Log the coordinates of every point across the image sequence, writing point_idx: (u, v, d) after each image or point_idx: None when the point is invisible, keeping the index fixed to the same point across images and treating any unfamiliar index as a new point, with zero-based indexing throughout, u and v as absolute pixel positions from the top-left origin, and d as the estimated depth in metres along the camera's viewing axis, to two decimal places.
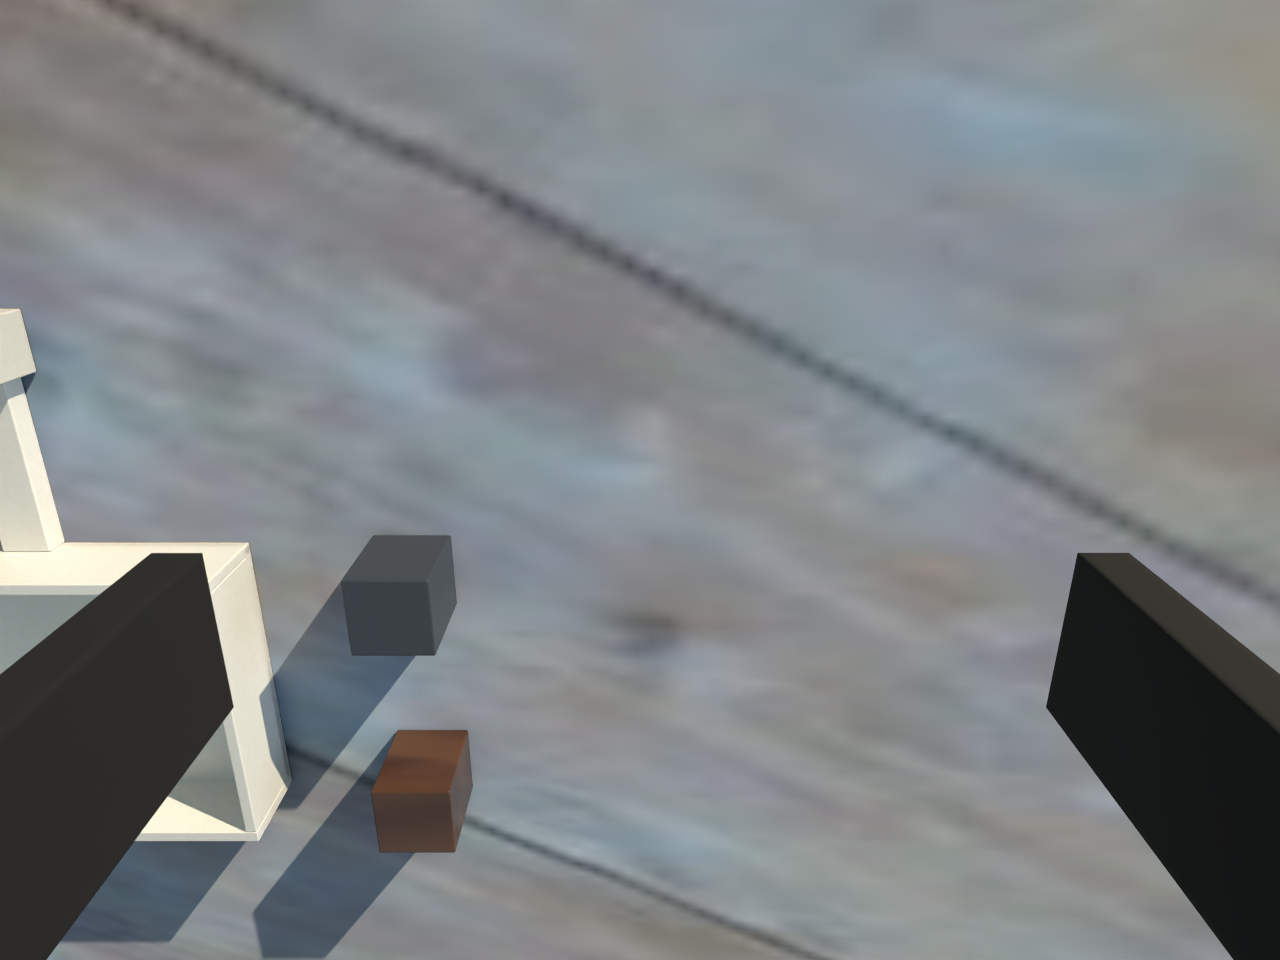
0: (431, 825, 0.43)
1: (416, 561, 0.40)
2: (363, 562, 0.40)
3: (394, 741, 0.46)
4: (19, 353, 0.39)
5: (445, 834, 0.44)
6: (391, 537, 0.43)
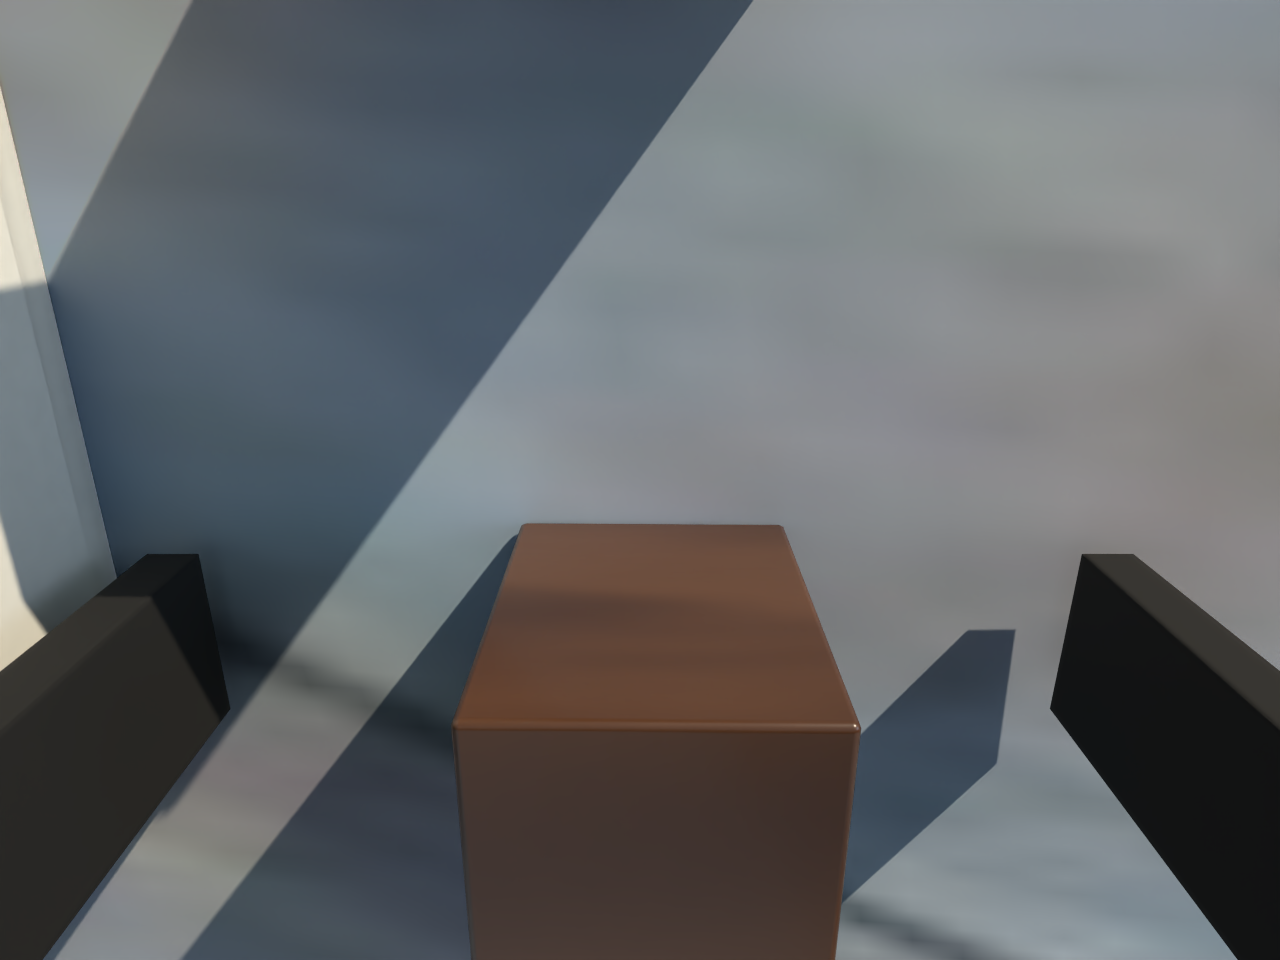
0: (741, 897, 0.09)
1: None
2: None
3: (520, 549, 0.12)
4: None
5: (801, 941, 0.09)
6: None
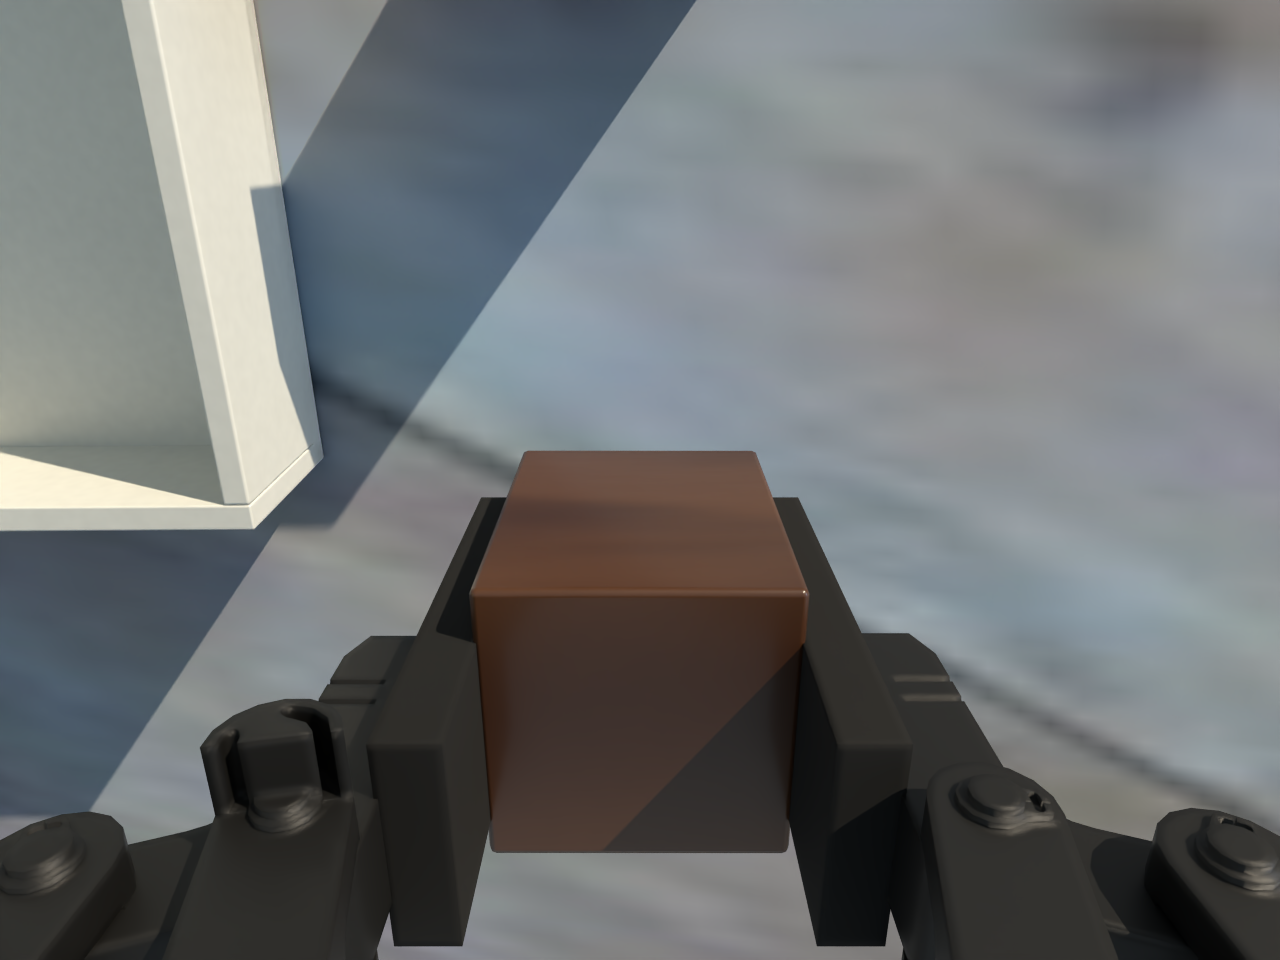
0: (712, 742, 0.11)
1: None
2: None
3: (523, 470, 0.13)
4: None
5: (763, 780, 0.11)
6: None
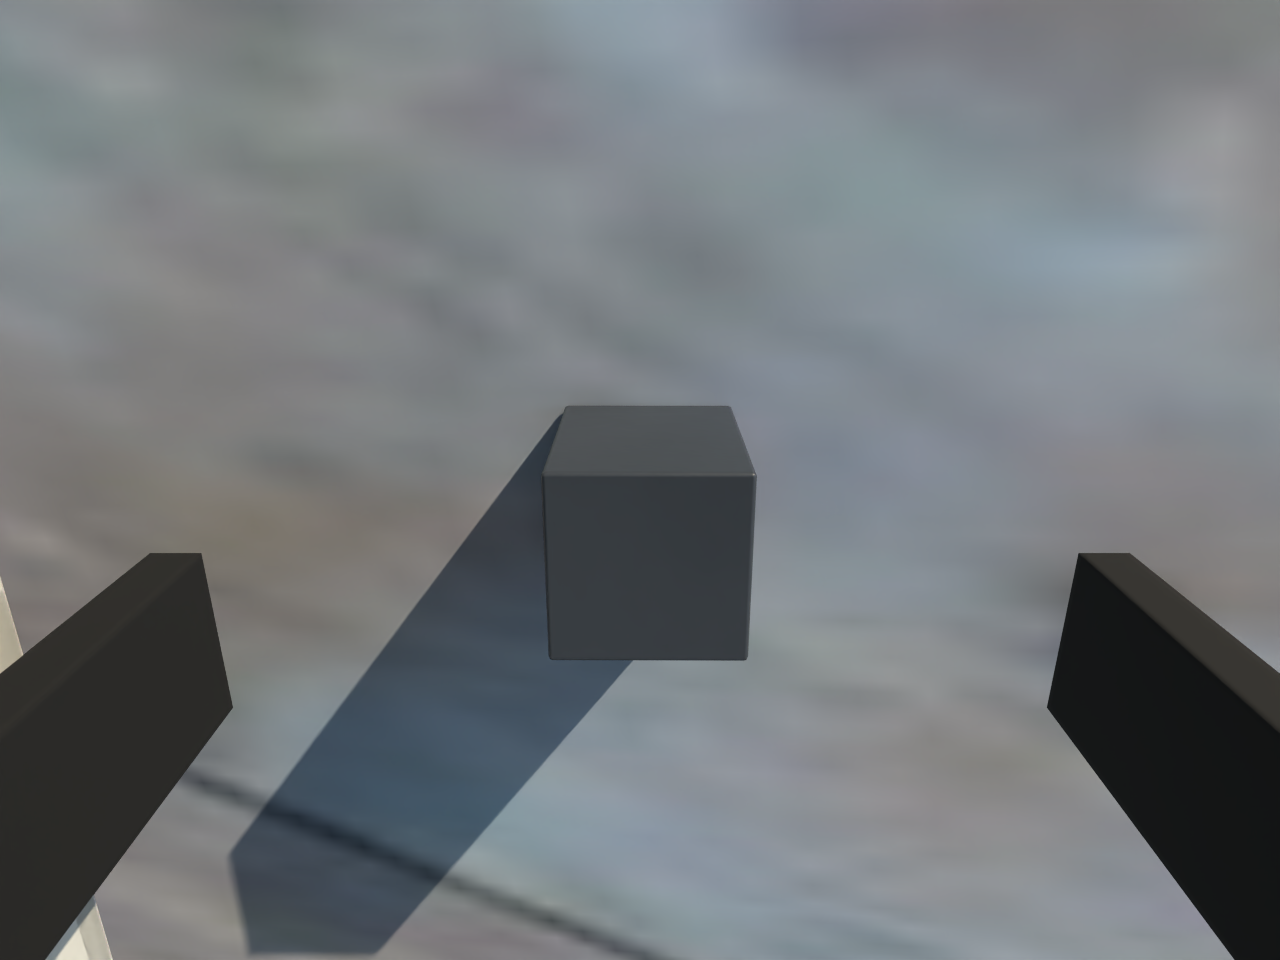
0: None
1: (696, 442, 0.17)
2: (574, 443, 0.17)
3: None
4: None
5: None
6: (607, 408, 0.20)
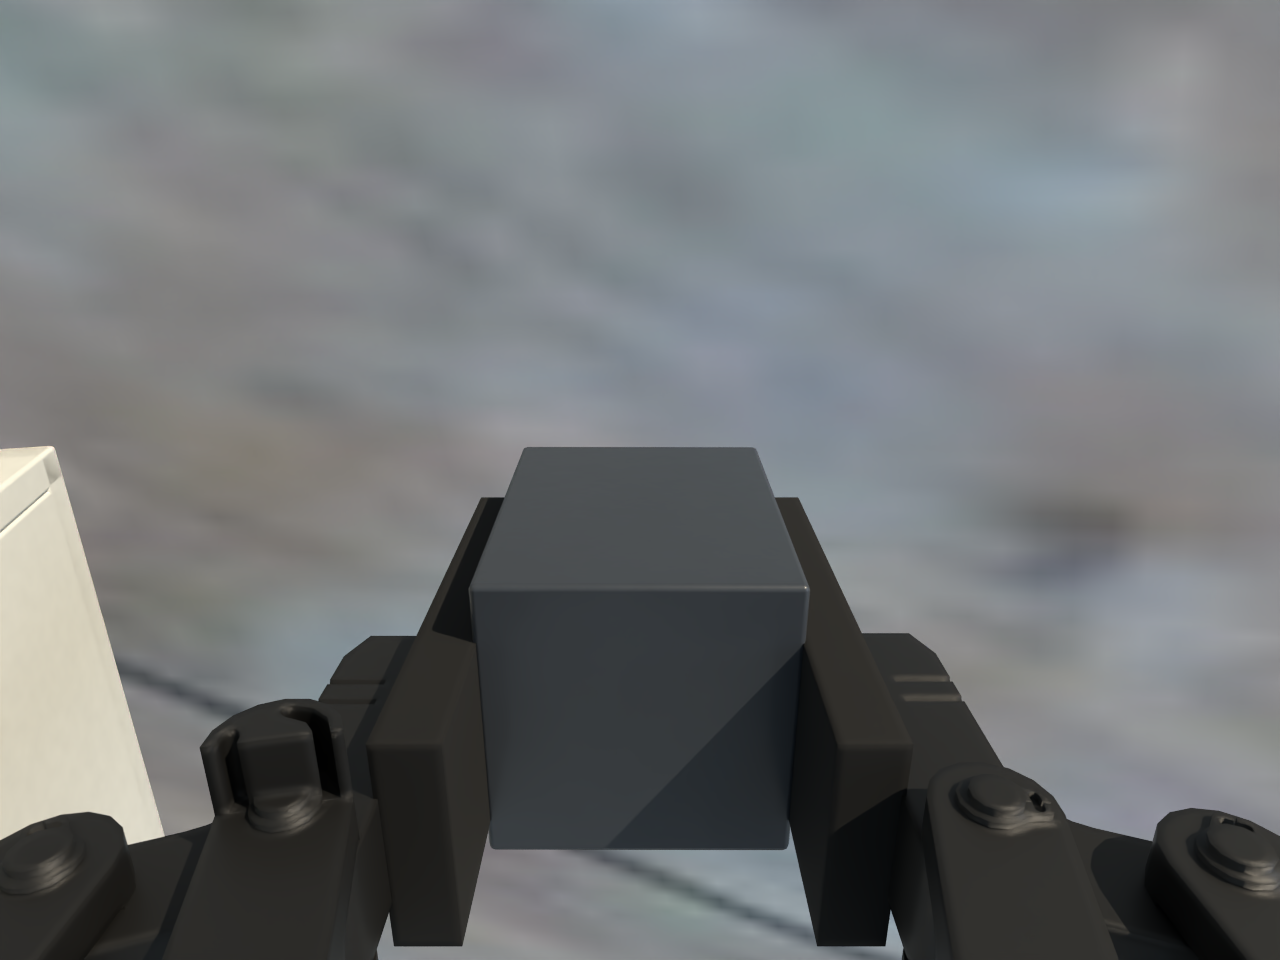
0: None
1: (712, 518, 0.12)
2: (528, 520, 0.11)
3: None
4: None
5: None
6: (582, 451, 0.14)
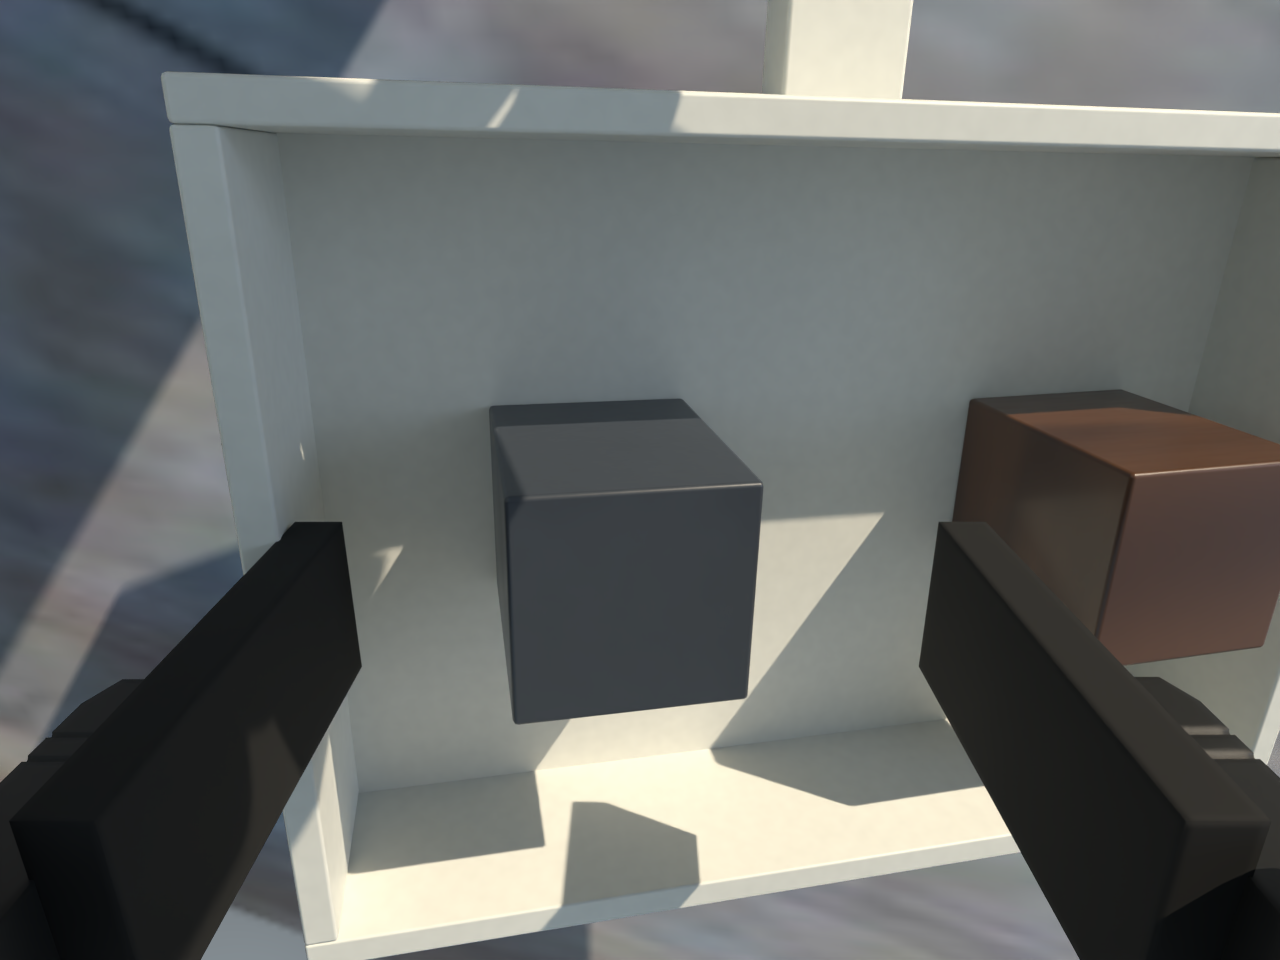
0: (1243, 570, 0.16)
1: (671, 445, 0.15)
2: (526, 454, 0.14)
3: (1001, 409, 0.18)
4: None
5: (1265, 594, 0.16)
6: (542, 406, 0.17)
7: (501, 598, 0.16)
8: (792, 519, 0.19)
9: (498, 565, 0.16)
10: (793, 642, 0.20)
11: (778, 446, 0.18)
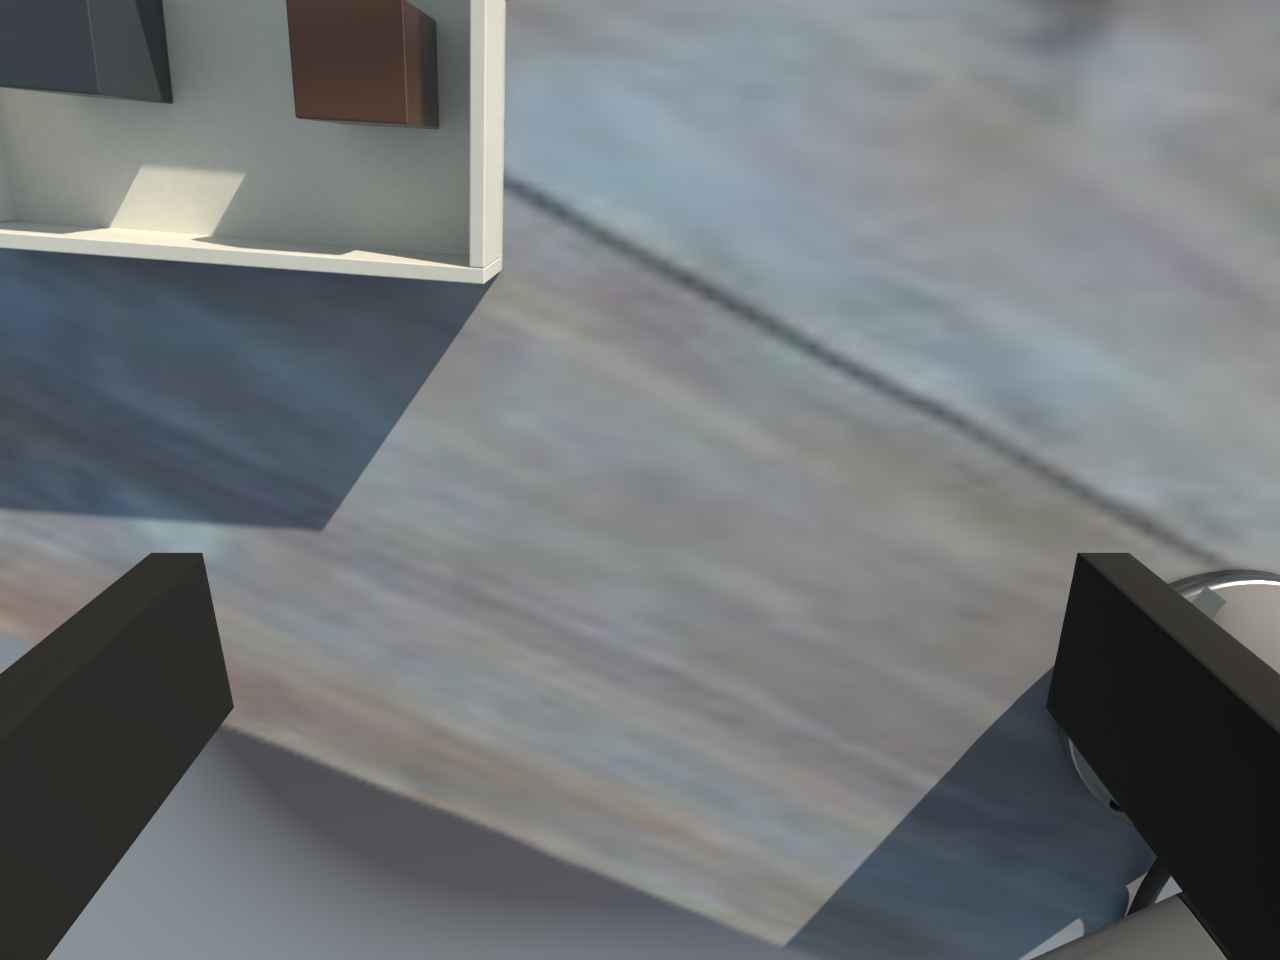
0: (374, 65, 0.29)
1: None
2: None
3: None
4: None
5: (394, 85, 0.29)
6: None
7: None
8: (238, 81, 0.34)
9: None
10: (254, 168, 0.35)
11: (222, 31, 0.33)
